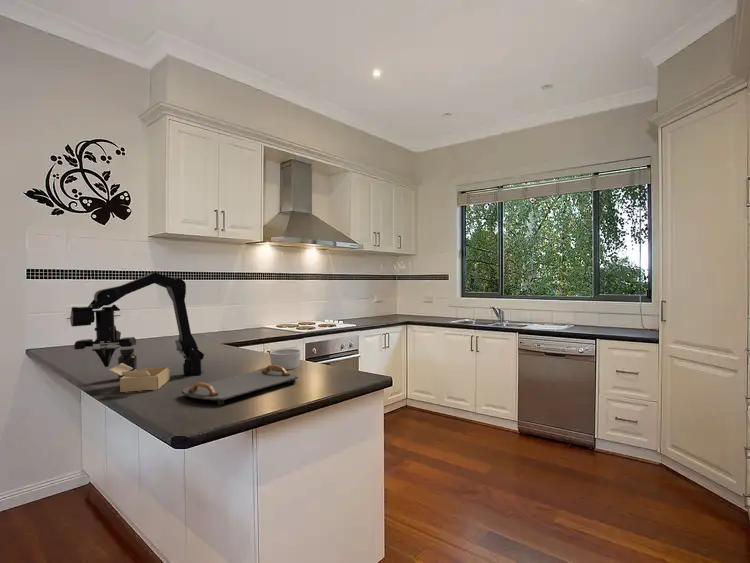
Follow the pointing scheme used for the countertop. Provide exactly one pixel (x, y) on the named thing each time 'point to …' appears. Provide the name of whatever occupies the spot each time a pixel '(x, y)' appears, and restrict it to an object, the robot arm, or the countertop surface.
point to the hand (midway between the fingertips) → (106, 366)
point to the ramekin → (285, 358)
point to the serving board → (239, 384)
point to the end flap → (136, 373)
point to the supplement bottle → (127, 359)
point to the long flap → (120, 369)
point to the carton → (146, 380)
